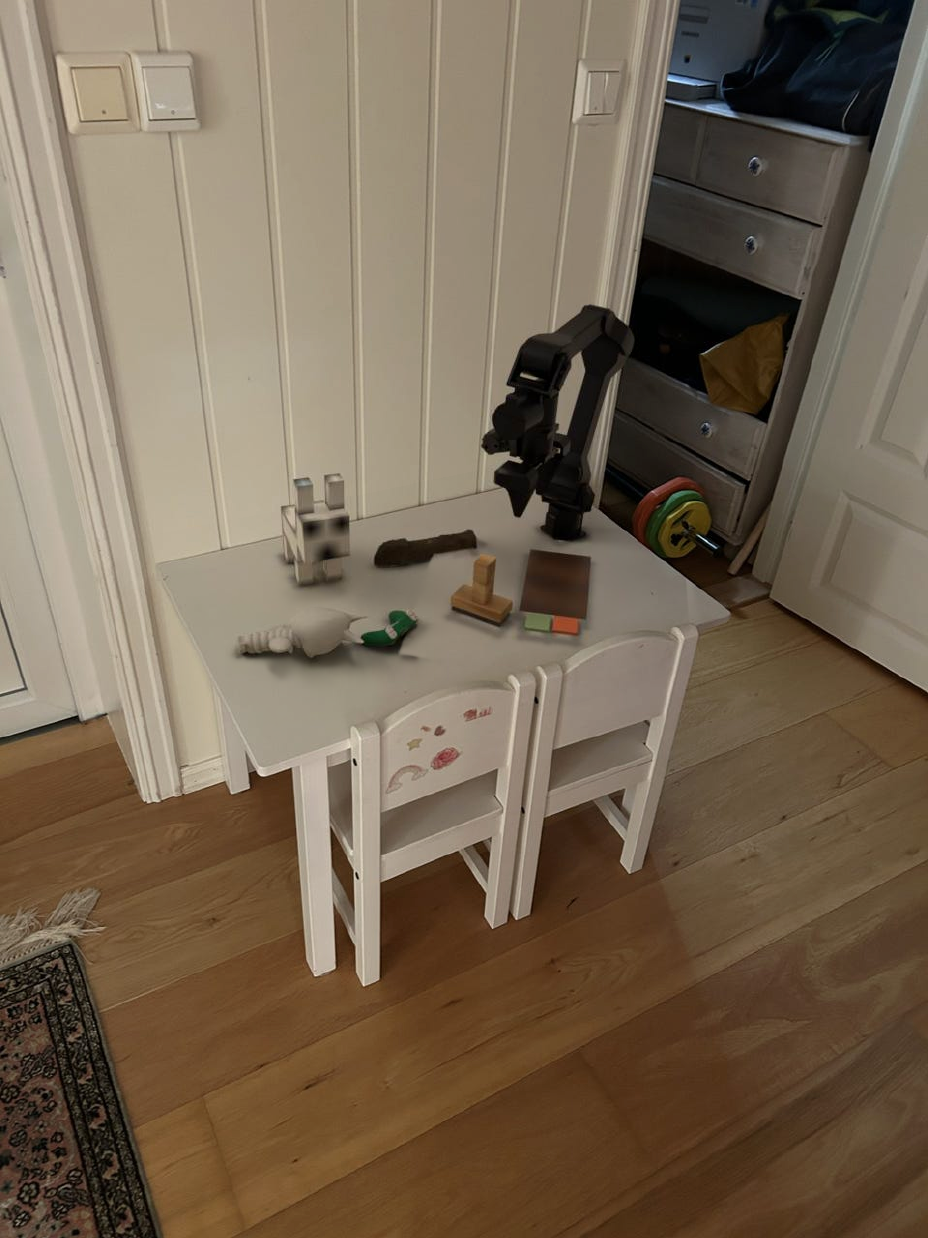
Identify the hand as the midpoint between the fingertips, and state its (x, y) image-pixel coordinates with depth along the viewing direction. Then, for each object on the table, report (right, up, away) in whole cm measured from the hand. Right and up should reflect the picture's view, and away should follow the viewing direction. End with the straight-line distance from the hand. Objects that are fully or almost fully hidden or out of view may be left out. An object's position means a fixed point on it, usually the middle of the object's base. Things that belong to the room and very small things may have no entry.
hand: (528, 505), depth 157 cm
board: (+5, -14, +3) cm, 15 cm away
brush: (-8, -19, -5) cm, 22 cm away
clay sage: (+1, -21, -7) cm, 22 cm away
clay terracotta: (+5, -22, -7) cm, 23 cm away
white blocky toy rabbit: (-37, -11, +4) cm, 39 cm away
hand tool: (-18, -9, +9) cm, 22 cm away
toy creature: (-35, -24, -15) cm, 45 cm away
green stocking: (-22, -22, -11) cm, 33 cm away
